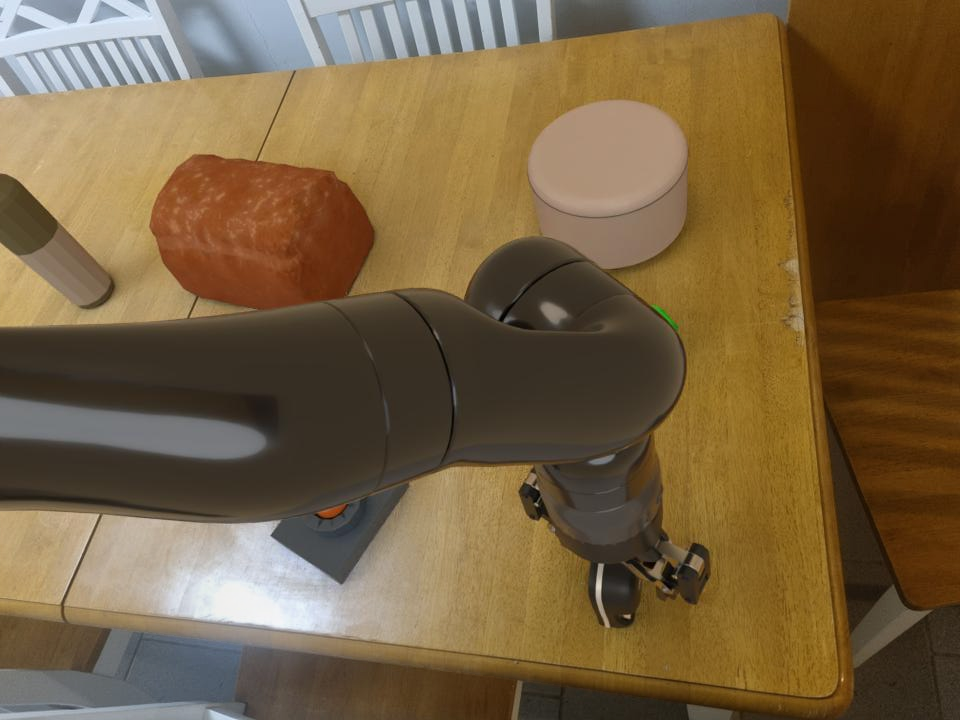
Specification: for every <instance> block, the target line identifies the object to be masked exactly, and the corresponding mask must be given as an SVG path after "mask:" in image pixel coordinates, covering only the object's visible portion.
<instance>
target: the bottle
mask: <svg viewBox="0 0 960 720" xmlns="http://www.w3.org/2000/svg"><path fill="white" fill-rule="evenodd" d="M0 244H1V245H3V247H4V248H6V249H7V250H8V251H9V252H11V253H12V254H13V255H14V256H15V257H16V258H18V259H19V260H20V261H21V262H22V263H24V264H25V265H26V266H28V267H29V268H30V269H31V270H32V271H34V272H35V273H36V274H37V275H38V276H39V277H40V278H41V279H43V280H44V282H47V283H48V284H49V285H50V286H51V287H52V288H54V289H55V290H56V291H57V292H58V293H60V295H62V296H63V297H64V298H66V300H67V301H69V302H70V303H71V304H73V305H75V306H77V307H79V308H81V309H82V310H83V309H93V308H95V307H97V306H98V305H100V304H103V303H104V302H105V301H106V299H108V298H109V296H110V295H112V291H113V289H114V287H115V285H114V281H113V278H112V276H111V275H110V273H109V272H108V271H107V270H106V269H105V268H104V267H103V266H102V265H101V264H100V263H99V261H97V260H96V259H95V258H94V257H93V256H92V255H91V253H90V252H88V251H87V249H85V248H84V246H83V245H81V243H80V242H79V241H78V240H77V239H76V238H75V237H74V236H73V235H72V234H71V233H70V232H69V231H68V230H67V229H66V228H65V227H64V225H62V224H61V223H60V222H59V220H58V219H57V218H55V217H54V215H53V214H52V213H51V212H50V211H49V210H48V209H47V208H46V207H45V206H44V205H43V204H42V203H41V202H40V201H39V200H38V199H37V198H36V197H35V196H34V195H33V193H31V192H30V191H29V190H28V189H27V188H26V187H25V186H24V184H23V183H22V182H21V181H19V180H18V179H16V178H15V177H13V176H11V175H9V174H7V173H1V172H0Z"/></svg>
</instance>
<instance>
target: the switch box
mask: <svg viewBox="0 0 960 720" xmlns="http://www.w3.org/2000/svg"><path fill="white" fill-rule="evenodd" d="M409 487H410V484H409V483H406V484H403V485H400V486H397V487H394V488H392V489H389V490H386V491H383V492H380V493H377V494H375V495H372V496H369V497H366V498H363V499H361V500H358V501H355V502H352V503H349V504H347V505H346V507H345V508H344V510H343V511H342V512H341V513H340V514H338V515H337V516H335V517H332V518H324V517H321V516H320V515H318V514H317V513H315V514H311V515H307V516H302V517H297V518H291V519H286V520H280V521H279V523H278V524H277V526H276V527H275V529H274V530H273V531H272V532H271V533H270V535H269V536H270V538H272V539H273V540H275V541H276V542H277V543H279V544H280V545H282V546H283V547H284V548H286V549H288V550H289V551H291V552H292V553H294V554H295V555H297V556H298V557H299V558H301V559H302V560H304V561H305V562H307V563H308V564H310V565H311V566H313V567H314V568H316V569H317V570H318V571H320V572H322V573H323V574H324V575H326V576H328V577H329V578H330V579H332V580H333V581H334V582H336V583H338V584H339V585H341V586H342V585H343V584H344V582H345V581H346V580H347V578H348V576H349V575H350V573H351V572H352V570H353V569H354V567H355V566H356V564H357V563H358V562H359V560H360V559H361V557H362V556H363V554H364V553H365V551H366V550H367V549H368V547H369V545H370V544H371V543H372V542H373V540H374V538H375V537H376V536H377V534H378V532H379V531H380V529H381V528H382V526H383V525H384V523H385V522H386V521H387V519H388V517H390V515H391V513H392V511H393V510H395V507H396V506H397V505H398V503H399V502H400V500H401V499H402V497H403V496H404V494H405V493H406V492H407V490H408V489H409Z"/></svg>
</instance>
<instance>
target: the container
mask: <svg viewBox="0 0 960 720" xmlns="http://www.w3.org/2000/svg"><path fill="white" fill-rule="evenodd" d="M688 143H689V142H688V141H687V137H686V135H685V133H684V131H683V128H682V127H681V126H680V124H679V123H678V122H677V120H675V119H674V118H673V117H672V116H671V115H670V114H668V113H667V112H666V111H664V110H663V109H660V108H659V107H656V106H655V105H652V104H648V103H645V102H641V101H636V100H631V99H606V100H599V101H598V100H597V101H594V102H590V103H586V104H584V105H580V106H578V107H574V108H572V109H571V110H568V111H566V112H565V113H563V114H562V115H559V116H558V117H556V119H554V120H552V121H551V123H549V124H548V125H547V126H546V127H544V129H543V130H542V131H541V132H540V133H539V135H537V138H536V139H535V140H534V142H533V143H532V146H531V148H530V151H529V155H528V158H527V165H526V176H527V181H528V183H529V186H530V189H531V194H532V198H533V203H534V208H535V211H536V217H537V221H538V225H539V230H540V233H541V236H545V237H550V238H554V239H558V240H561V241H563V242H566V243H568V244H570V245H572V246H573V247H575V248H577V249H578V250H579V251H581V252H582V253H584V254H585V255H586V256H587V257H589V258H590V259H591V260H593V261H594V262H595V263H597V264H598V265H599V266H600V267H601V268H602V269H604V270H613V269H614V270H615V269H622V268H627V267H631V266H634V265H637V264H641V263H643V262H645V261H648V260H649V259H652V258H653V257H655V256H657V255H658V254H660V253H662V252H663V251H664V250H666V248H668V247H669V246H670V245H671V244H673V242H674V241H675V240H676V238H677V237H678V236H679V234H680V233H681V232H682V230H683V227H684V226H685V223H686V220H687V213H688V177H689V175H688V172H689V171H688V169H689V166H688V165H689V156H690V155H689V153H690V152H689V151H690V149H689V144H688Z"/></svg>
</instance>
